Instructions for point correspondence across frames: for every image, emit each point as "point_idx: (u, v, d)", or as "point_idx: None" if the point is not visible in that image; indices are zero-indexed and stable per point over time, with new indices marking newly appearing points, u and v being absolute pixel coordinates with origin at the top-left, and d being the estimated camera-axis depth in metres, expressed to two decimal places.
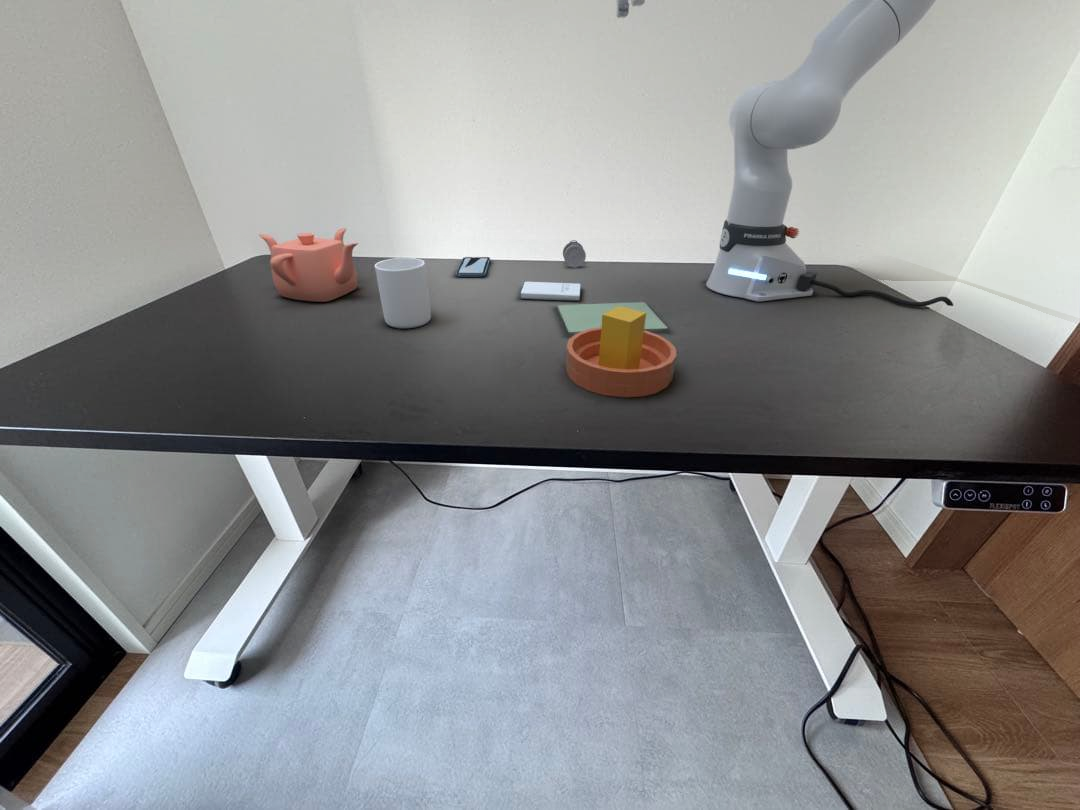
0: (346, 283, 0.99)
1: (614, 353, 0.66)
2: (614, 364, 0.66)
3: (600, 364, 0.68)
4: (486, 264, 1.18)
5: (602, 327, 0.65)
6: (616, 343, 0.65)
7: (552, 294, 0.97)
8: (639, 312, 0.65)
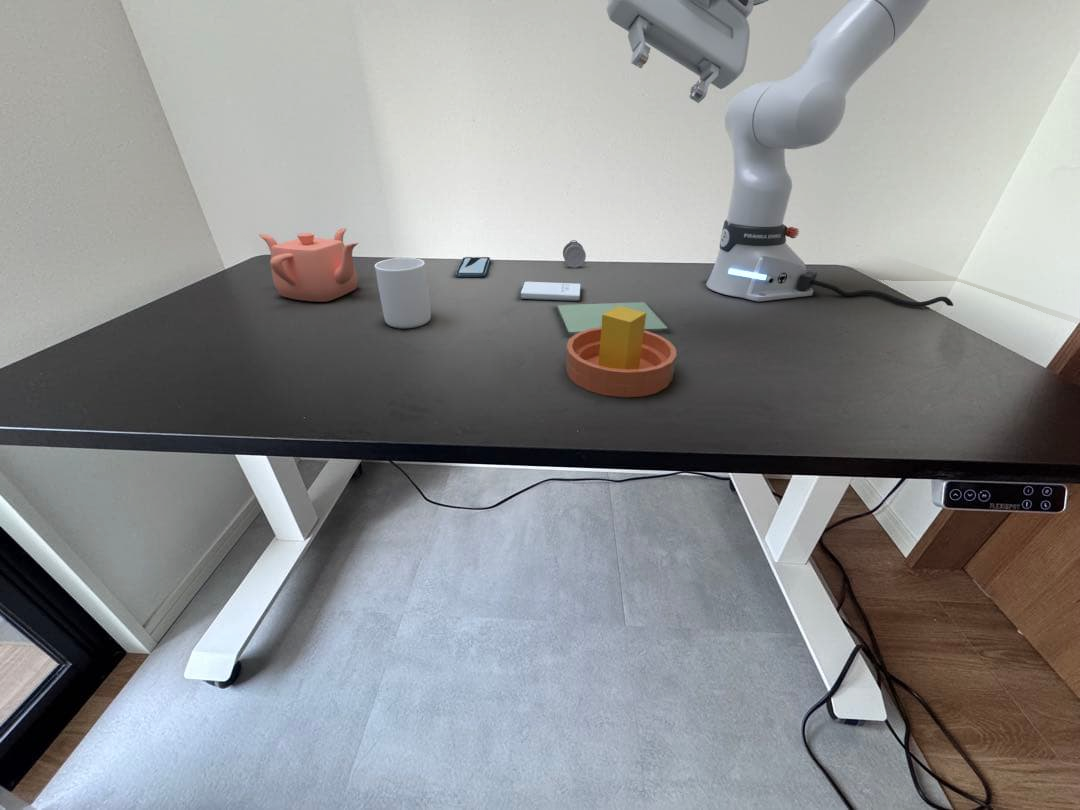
0: (346, 283, 0.99)
1: (614, 353, 0.66)
2: (614, 364, 0.66)
3: (600, 364, 0.68)
4: (486, 264, 1.18)
5: (602, 327, 0.65)
6: (616, 343, 0.65)
7: (552, 294, 0.97)
8: (639, 312, 0.65)
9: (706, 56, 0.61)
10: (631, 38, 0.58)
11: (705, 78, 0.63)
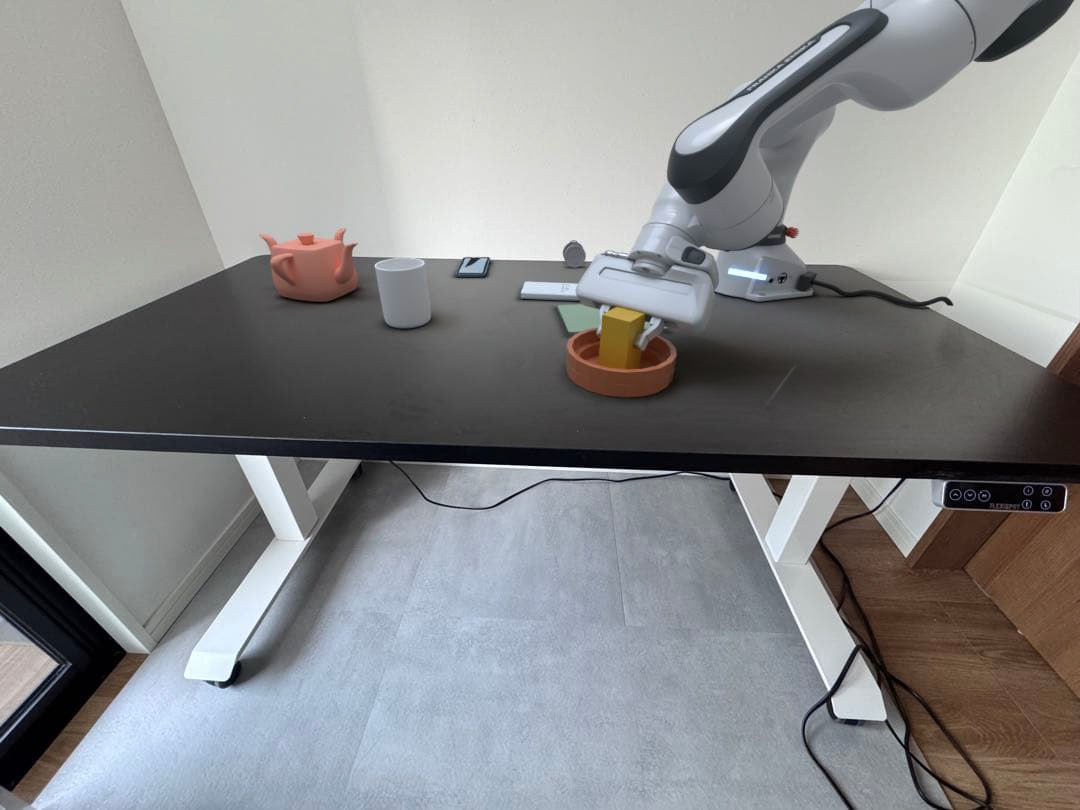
0: (346, 283, 0.99)
1: (614, 353, 0.66)
2: (614, 364, 0.66)
3: (600, 364, 0.68)
4: (486, 264, 1.18)
5: (602, 327, 0.65)
6: (616, 343, 0.65)
7: (552, 294, 0.97)
8: (639, 312, 0.65)
9: (656, 316, 0.64)
10: None
11: None
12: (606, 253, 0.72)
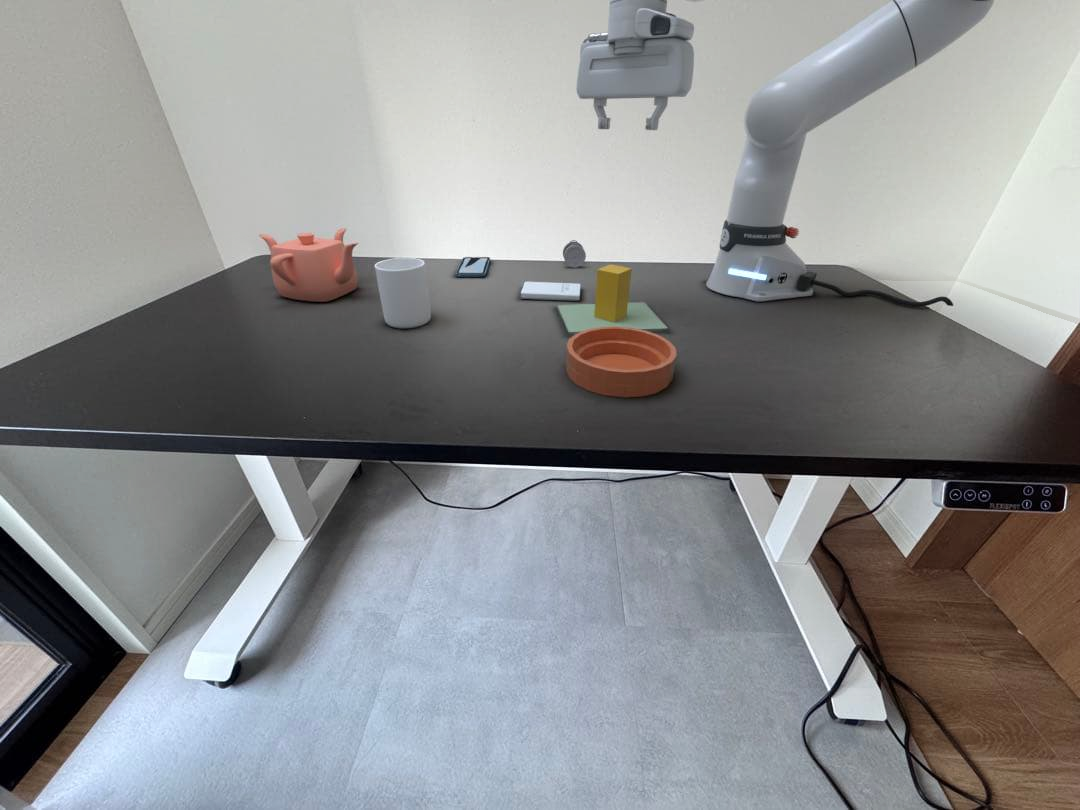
0: (346, 283, 0.99)
1: (606, 300, 0.84)
2: (607, 309, 0.85)
3: (596, 310, 0.87)
4: (486, 264, 1.18)
5: (597, 280, 0.84)
6: (608, 292, 0.83)
7: (552, 294, 0.97)
8: (626, 268, 0.83)
9: (647, 97, 0.76)
10: None
11: None
12: (589, 39, 0.78)
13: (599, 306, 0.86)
